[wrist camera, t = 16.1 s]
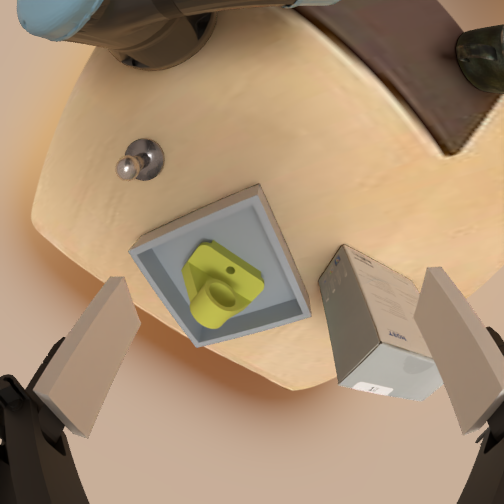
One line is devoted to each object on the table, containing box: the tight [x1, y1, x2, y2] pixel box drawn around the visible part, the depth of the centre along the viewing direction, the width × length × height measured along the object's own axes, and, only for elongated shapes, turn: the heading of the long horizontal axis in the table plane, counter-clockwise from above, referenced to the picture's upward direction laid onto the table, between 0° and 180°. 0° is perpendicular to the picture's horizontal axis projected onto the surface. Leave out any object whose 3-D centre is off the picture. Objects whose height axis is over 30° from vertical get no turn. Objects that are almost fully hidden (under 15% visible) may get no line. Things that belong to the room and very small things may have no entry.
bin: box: [128, 184, 312, 347], centre depth 43 cm, size 20×20×5 cm
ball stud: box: [116, 138, 164, 181], centre depth 35 cm, size 6×6×7 cm
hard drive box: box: [318, 245, 444, 401], centre depth 36 cm, size 16×8×20 cm, turn 65°
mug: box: [456, 25, 504, 94], centre depth 21 cm, size 11×15×12 cm
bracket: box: [181, 240, 264, 329], centre depth 40 cm, size 11×6×10 cm, turn 54°
